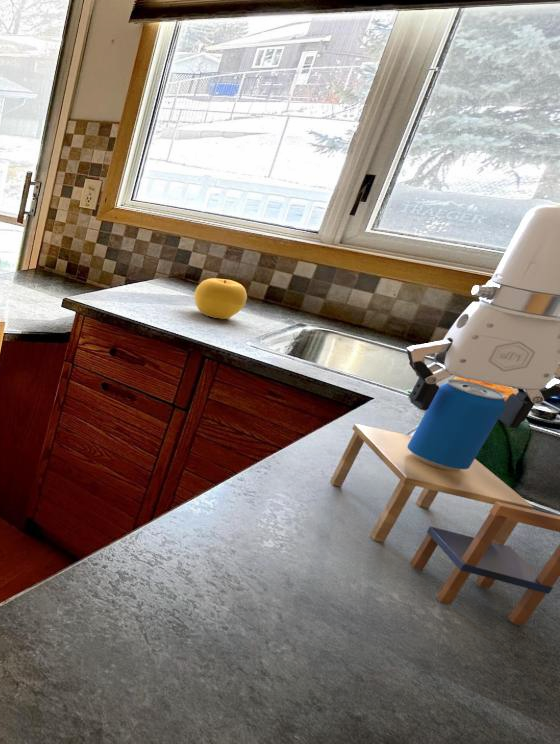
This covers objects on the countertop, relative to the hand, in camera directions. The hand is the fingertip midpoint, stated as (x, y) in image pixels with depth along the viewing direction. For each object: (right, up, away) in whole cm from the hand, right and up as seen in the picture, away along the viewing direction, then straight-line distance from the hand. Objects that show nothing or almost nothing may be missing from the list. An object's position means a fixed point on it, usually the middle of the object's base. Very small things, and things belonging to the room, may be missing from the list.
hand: (461, 414), depth 87 cm
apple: (+39, +16, +100) cm, 108 cm away
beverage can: (-1, -7, +3) cm, 8 cm away
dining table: (-1, -17, +7) cm, 19 cm away
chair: (-8, -22, -7) cm, 25 cm away
